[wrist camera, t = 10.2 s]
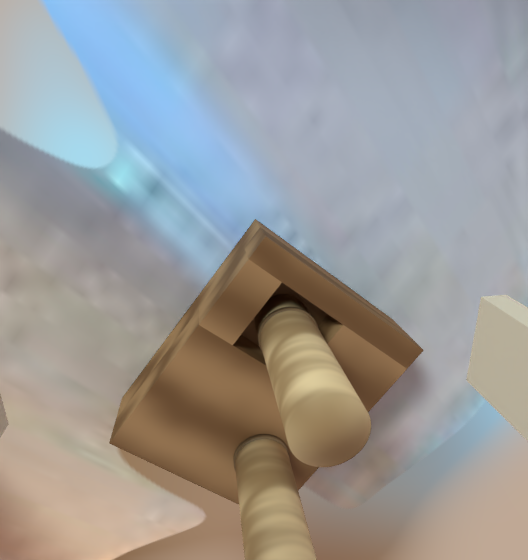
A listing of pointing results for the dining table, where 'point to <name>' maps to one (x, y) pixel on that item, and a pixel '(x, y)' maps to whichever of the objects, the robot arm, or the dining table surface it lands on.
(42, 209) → the dining table surface
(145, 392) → the board
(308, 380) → the beech peg
